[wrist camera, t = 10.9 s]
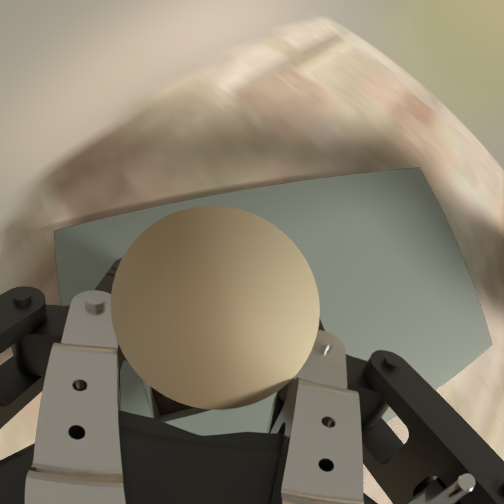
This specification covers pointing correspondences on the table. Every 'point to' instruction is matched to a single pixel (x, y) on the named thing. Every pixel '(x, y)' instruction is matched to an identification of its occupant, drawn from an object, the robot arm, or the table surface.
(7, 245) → the table surface
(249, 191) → the board
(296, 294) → the peg
